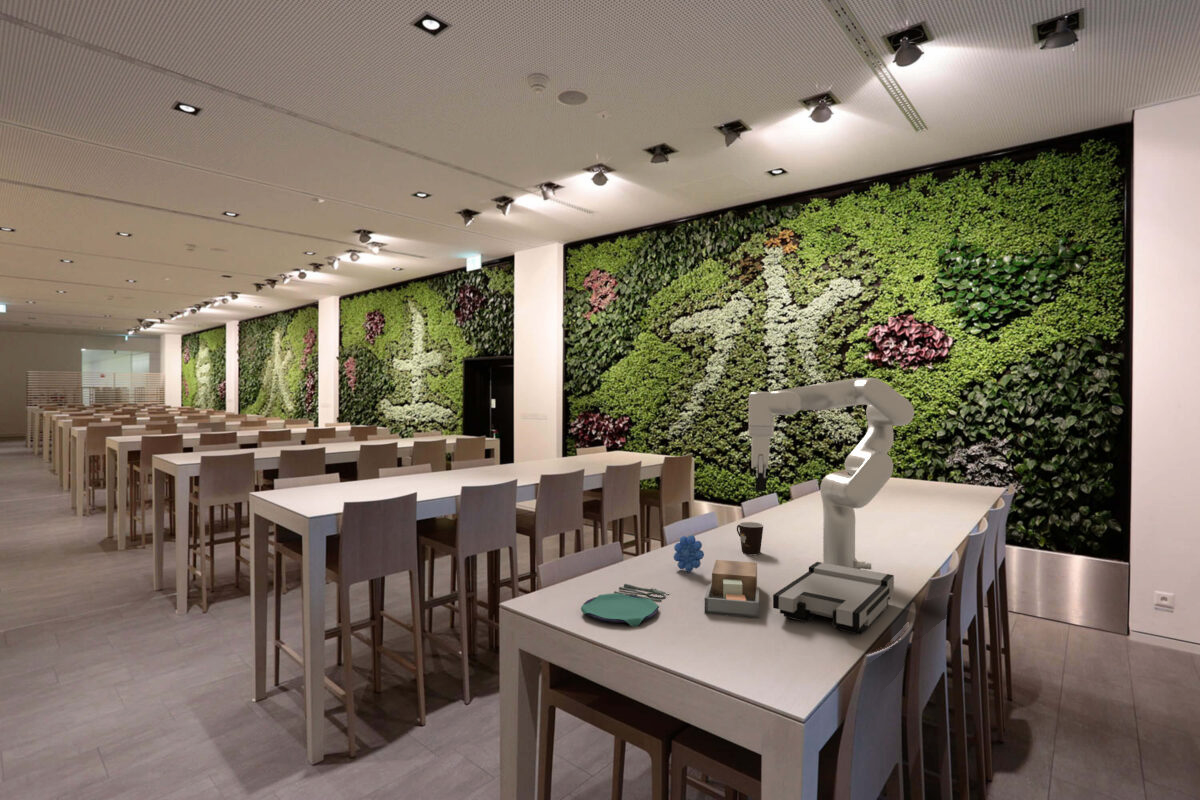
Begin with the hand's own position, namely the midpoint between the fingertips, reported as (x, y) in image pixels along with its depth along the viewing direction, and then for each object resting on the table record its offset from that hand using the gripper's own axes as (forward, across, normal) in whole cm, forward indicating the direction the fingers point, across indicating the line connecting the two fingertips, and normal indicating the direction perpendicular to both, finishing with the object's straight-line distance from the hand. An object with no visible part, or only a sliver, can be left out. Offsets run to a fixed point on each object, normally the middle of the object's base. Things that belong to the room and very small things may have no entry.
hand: (760, 490), depth 188 cm
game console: (+28, +26, +19) cm, 42 cm away
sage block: (+24, +24, -7) cm, 34 cm away
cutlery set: (+28, +35, -34) cm, 56 cm away
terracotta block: (+24, +31, -6) cm, 39 cm away
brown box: (+27, +16, -7) cm, 32 cm away
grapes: (+27, -1, -22) cm, 35 cm away
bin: (+27, +29, -7) cm, 40 cm away
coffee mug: (+27, -31, -4) cm, 42 cm away
